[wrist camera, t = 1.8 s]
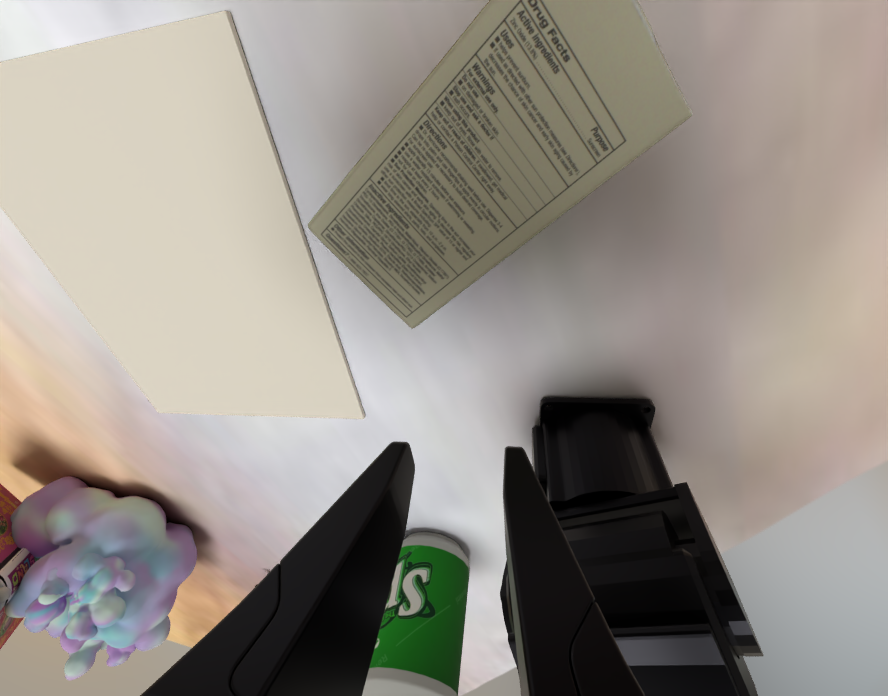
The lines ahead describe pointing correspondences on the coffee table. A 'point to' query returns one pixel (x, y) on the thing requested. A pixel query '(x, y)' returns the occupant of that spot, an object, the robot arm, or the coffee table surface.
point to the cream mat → (172, 220)
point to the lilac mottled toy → (90, 570)
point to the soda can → (422, 621)
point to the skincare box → (499, 146)
